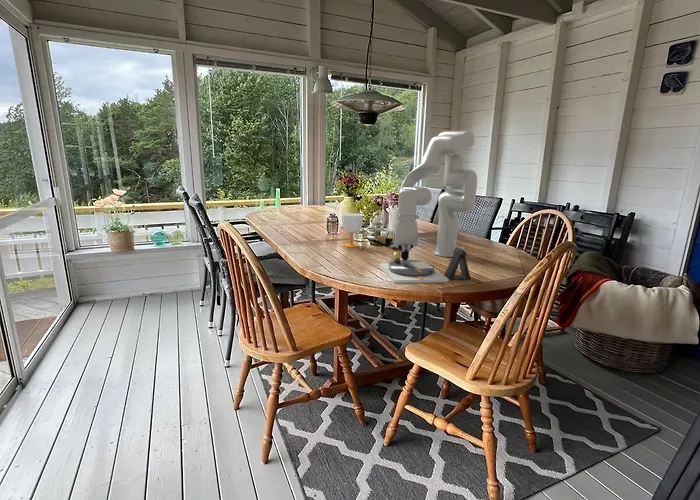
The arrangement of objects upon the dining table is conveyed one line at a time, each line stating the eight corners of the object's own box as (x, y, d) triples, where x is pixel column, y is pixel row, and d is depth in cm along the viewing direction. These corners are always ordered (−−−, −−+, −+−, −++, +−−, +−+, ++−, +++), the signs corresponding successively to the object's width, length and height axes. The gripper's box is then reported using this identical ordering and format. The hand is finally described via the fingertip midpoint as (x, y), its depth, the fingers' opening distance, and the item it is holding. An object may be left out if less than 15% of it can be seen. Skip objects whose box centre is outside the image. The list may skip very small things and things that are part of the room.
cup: (341, 242, 214) (341, 212, 210) (362, 243, 213) (363, 213, 209) (339, 247, 202) (340, 215, 198) (362, 248, 202) (363, 216, 198)
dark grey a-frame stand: (465, 275, 159) (468, 247, 156) (470, 280, 153) (473, 251, 150) (444, 275, 158) (446, 247, 156) (448, 280, 153) (451, 250, 150)
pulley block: (389, 239, 196) (367, 228, 224) (387, 250, 197) (365, 238, 225) (412, 241, 201) (388, 231, 229) (410, 252, 202) (386, 241, 230)
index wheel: (392, 261, 172) (393, 249, 170) (435, 265, 167) (436, 253, 166) (385, 273, 154) (385, 259, 153) (433, 278, 149) (434, 264, 148)
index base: (426, 265, 173) (427, 261, 173) (448, 281, 150) (448, 277, 150) (379, 266, 170) (379, 262, 169) (394, 283, 147) (394, 279, 146)
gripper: (420, 216, 167) (418, 256, 172) (387, 217, 165) (385, 258, 169) (426, 219, 160) (423, 261, 165) (392, 220, 157) (390, 262, 162)
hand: (404, 259), depth 167 cm, fingers closed
